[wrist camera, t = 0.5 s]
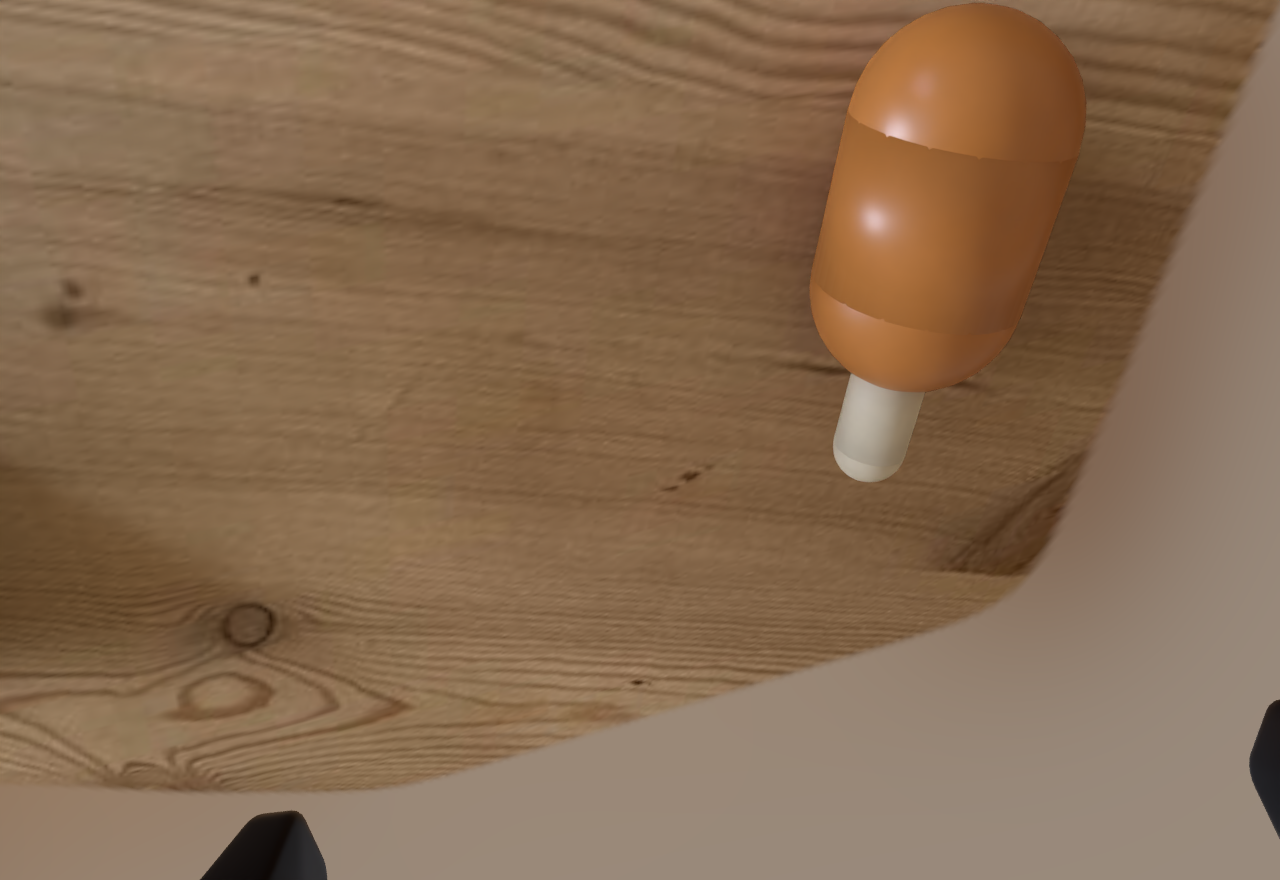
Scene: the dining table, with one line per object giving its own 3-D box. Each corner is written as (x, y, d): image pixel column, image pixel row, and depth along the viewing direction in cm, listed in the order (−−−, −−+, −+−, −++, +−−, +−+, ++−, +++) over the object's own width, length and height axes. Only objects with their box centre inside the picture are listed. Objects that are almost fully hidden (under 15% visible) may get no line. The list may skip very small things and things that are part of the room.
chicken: (921, 433, 24) (981, 538, 20) (755, 421, 23) (787, 526, 20) (1060, 1, 18) (1173, 40, 15) (849, -25, 18) (916, 8, 14)
